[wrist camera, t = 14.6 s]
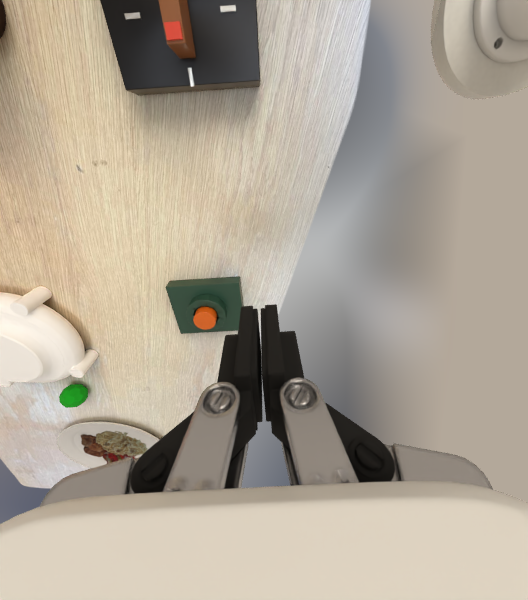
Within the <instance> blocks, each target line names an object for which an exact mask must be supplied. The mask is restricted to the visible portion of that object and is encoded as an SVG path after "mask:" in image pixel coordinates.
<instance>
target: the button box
mask: <svg viewBox="0 0 528 600" xmlns="http://www.w3.org/2000/svg"><path fill="white" fill-rule="evenodd" d="M166 290H167V293H168V296H169V299H170V302H171V305H172V308H173V311H174V314H175V317H176V320H177V323H178V326H179V329H180V332H181V334H183V333H200V332H218V331H235V330H239V321H240V311H241V307H243V306H244V305H243V297H242V290H241V282H240V277H226V278H210V279H194V280H177V281H169V283H168V285H167V286H166ZM203 306H207V307H211V308H213V309H214V310H215V311H216V313H217V320H216V324H215V326H214V327H213V328H211V329H207V330H205V329H200V328H198V327H197V326H196V325H195V324H194V321H193V319H194V316H195V313H196V311H197V309H198V308H200V307H203Z"/></svg>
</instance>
